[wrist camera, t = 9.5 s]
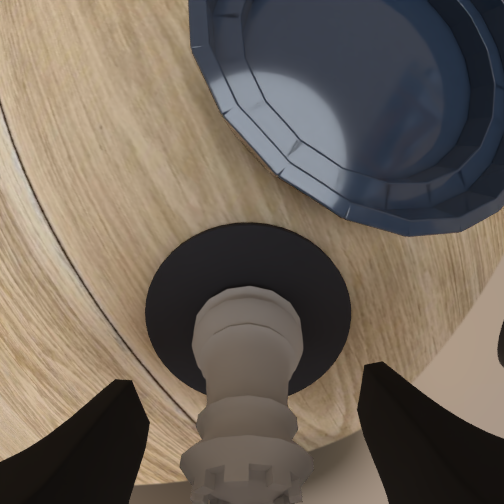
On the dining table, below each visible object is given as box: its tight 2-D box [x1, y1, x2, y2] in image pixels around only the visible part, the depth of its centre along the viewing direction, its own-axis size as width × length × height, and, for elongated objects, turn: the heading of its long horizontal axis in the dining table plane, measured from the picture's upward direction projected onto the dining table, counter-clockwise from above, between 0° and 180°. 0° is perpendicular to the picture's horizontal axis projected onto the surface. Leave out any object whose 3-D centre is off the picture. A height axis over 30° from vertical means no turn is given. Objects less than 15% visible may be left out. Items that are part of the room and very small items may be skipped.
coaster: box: [145, 223, 351, 396], centre depth 13 cm, size 9×9×1 cm
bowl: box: [188, 0, 504, 237], centre depth 8 cm, size 13×13×4 cm
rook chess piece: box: [180, 286, 313, 504], centre depth 9 cm, size 4×4×8 cm
